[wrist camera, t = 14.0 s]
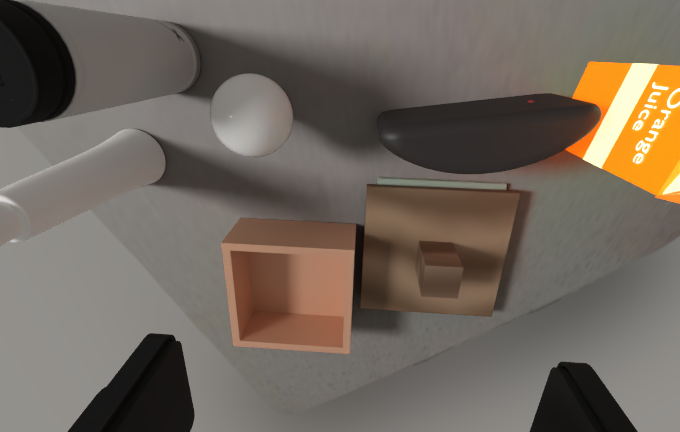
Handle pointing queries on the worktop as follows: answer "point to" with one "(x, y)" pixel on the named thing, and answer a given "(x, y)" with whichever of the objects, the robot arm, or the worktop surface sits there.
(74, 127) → the worktop surface
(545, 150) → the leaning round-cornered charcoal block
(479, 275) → the lid
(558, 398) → the robot arm
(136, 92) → the travel mug
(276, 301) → the salmon open box
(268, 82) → the lightbulb
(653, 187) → the orange juice
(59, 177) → the cosmetic bottle
